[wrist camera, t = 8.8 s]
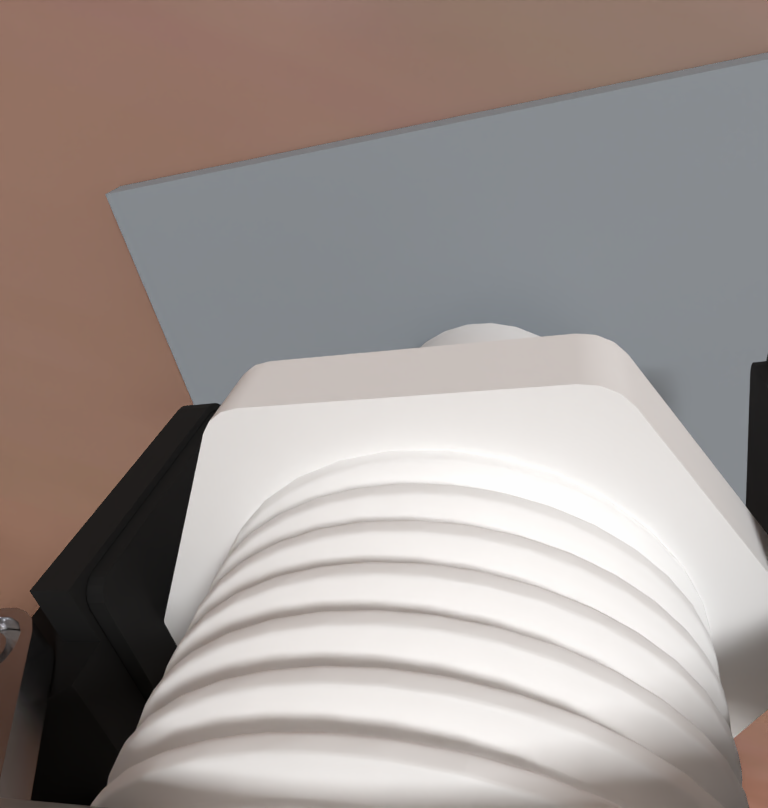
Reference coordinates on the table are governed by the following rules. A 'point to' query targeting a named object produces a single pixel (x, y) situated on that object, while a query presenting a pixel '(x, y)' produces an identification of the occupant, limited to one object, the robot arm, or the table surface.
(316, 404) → the pipe fitting
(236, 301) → the mat
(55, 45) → the table surface
